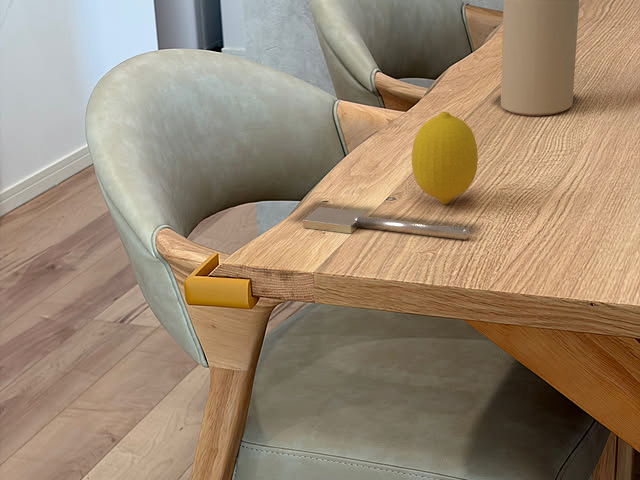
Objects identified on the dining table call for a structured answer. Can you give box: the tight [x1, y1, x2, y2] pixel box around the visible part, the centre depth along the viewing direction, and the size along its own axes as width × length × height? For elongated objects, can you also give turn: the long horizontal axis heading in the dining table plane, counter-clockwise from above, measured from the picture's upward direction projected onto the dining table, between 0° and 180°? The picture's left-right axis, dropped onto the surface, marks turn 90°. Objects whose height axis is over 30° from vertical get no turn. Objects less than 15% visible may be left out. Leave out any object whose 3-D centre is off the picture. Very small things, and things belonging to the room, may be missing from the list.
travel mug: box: [500, 0, 580, 117], centre depth 99 cm, size 8×8×18 cm
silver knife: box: [302, 206, 471, 241], centre depth 74 cm, size 14×3×1 cm, turn 64°
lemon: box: [411, 111, 479, 205], centre depth 76 cm, size 6×6×8 cm
